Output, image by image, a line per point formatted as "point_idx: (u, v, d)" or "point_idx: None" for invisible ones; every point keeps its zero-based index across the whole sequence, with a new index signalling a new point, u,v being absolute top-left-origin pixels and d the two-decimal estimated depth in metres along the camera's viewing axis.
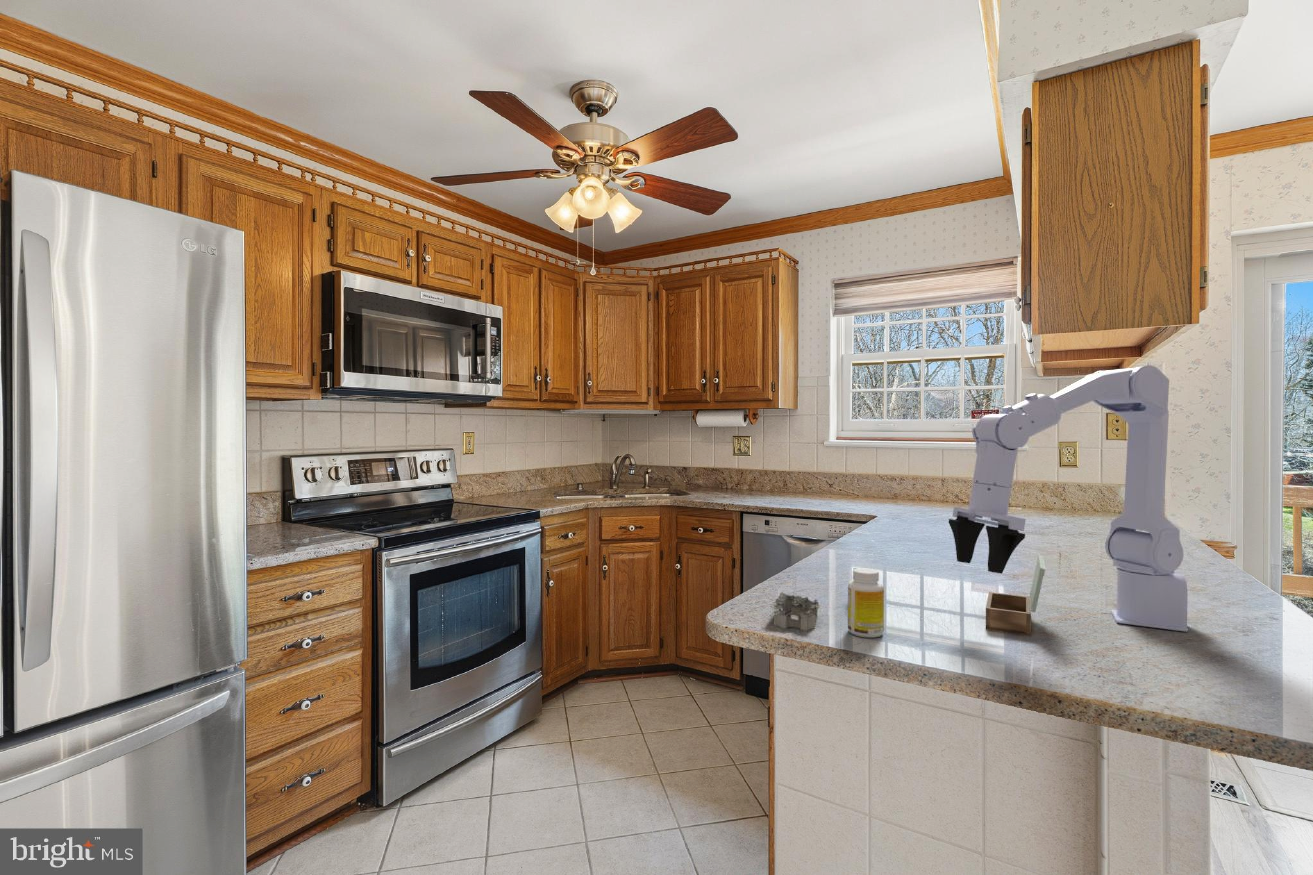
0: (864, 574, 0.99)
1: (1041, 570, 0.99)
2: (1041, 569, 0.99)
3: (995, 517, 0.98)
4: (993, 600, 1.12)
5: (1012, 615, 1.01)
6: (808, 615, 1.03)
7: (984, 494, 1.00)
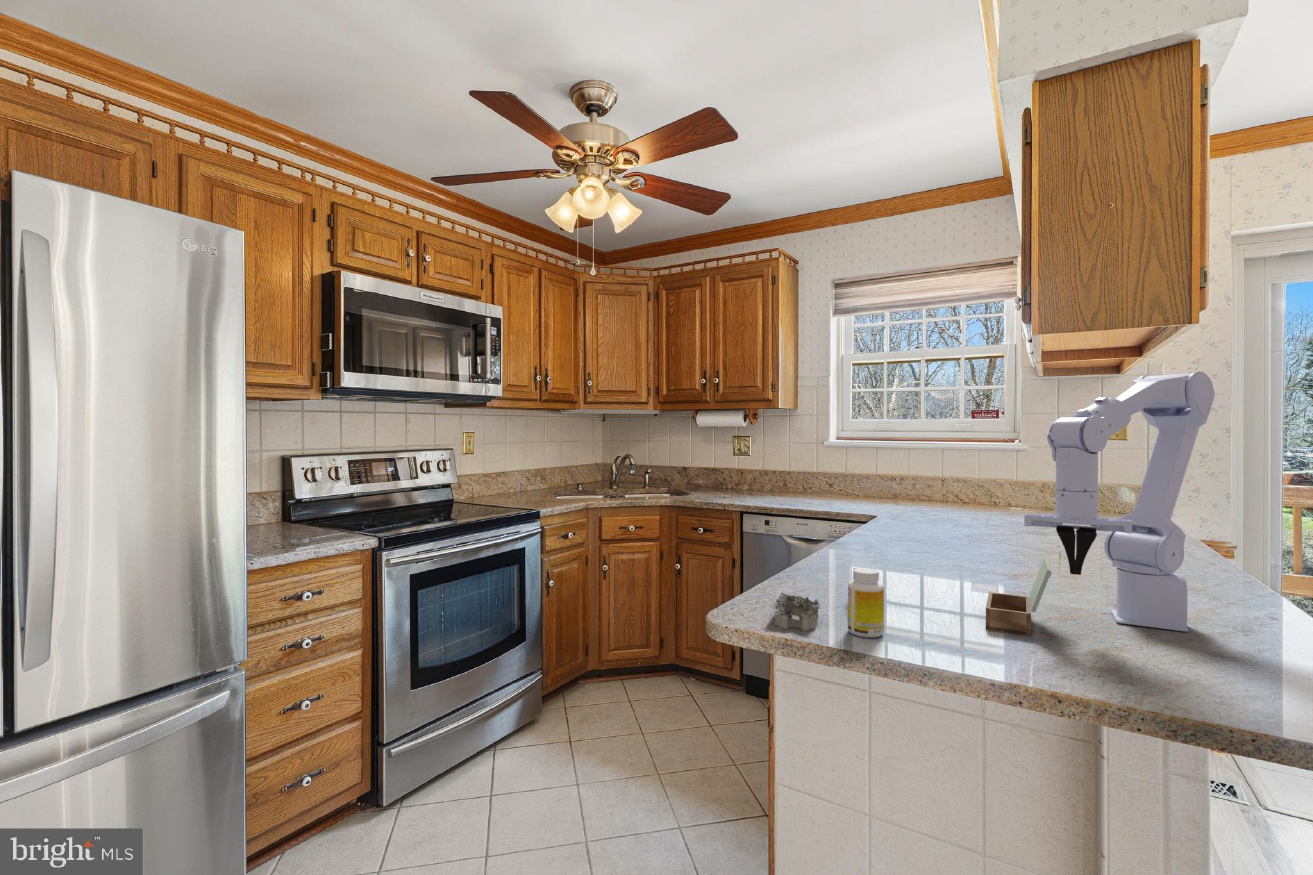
0: (864, 574, 0.99)
1: (1047, 572, 0.98)
2: (1048, 571, 0.98)
3: (1108, 524, 0.98)
4: (993, 600, 1.12)
5: (1012, 615, 1.01)
6: (809, 615, 1.03)
7: (1089, 502, 0.99)
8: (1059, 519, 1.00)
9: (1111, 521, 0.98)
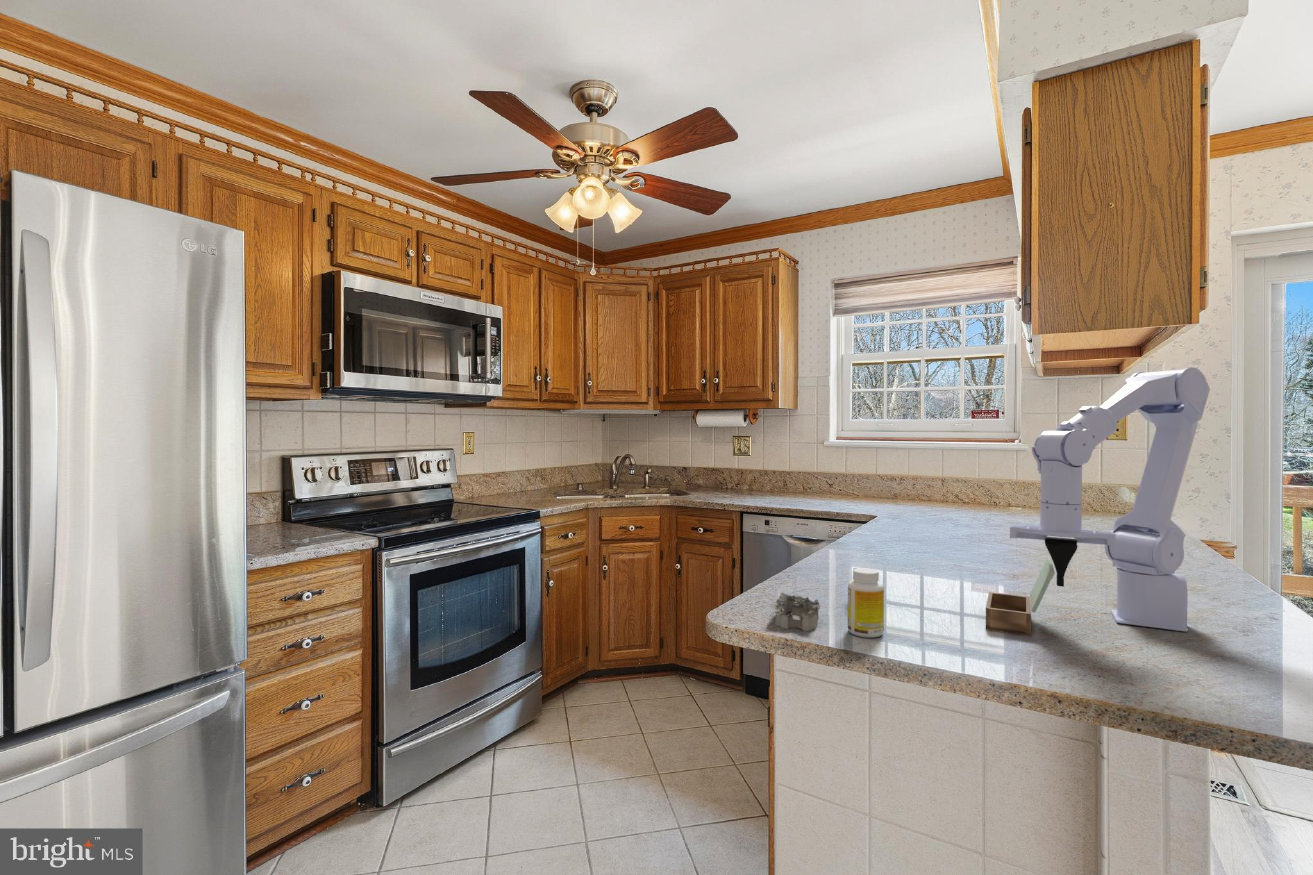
0: (864, 574, 0.99)
1: (1050, 573, 0.98)
2: (1050, 572, 0.98)
3: (1091, 536, 0.99)
4: (993, 600, 1.12)
5: (1012, 615, 1.01)
6: (810, 615, 1.03)
7: (1073, 515, 1.00)
8: (1044, 531, 1.02)
9: (1095, 534, 0.99)
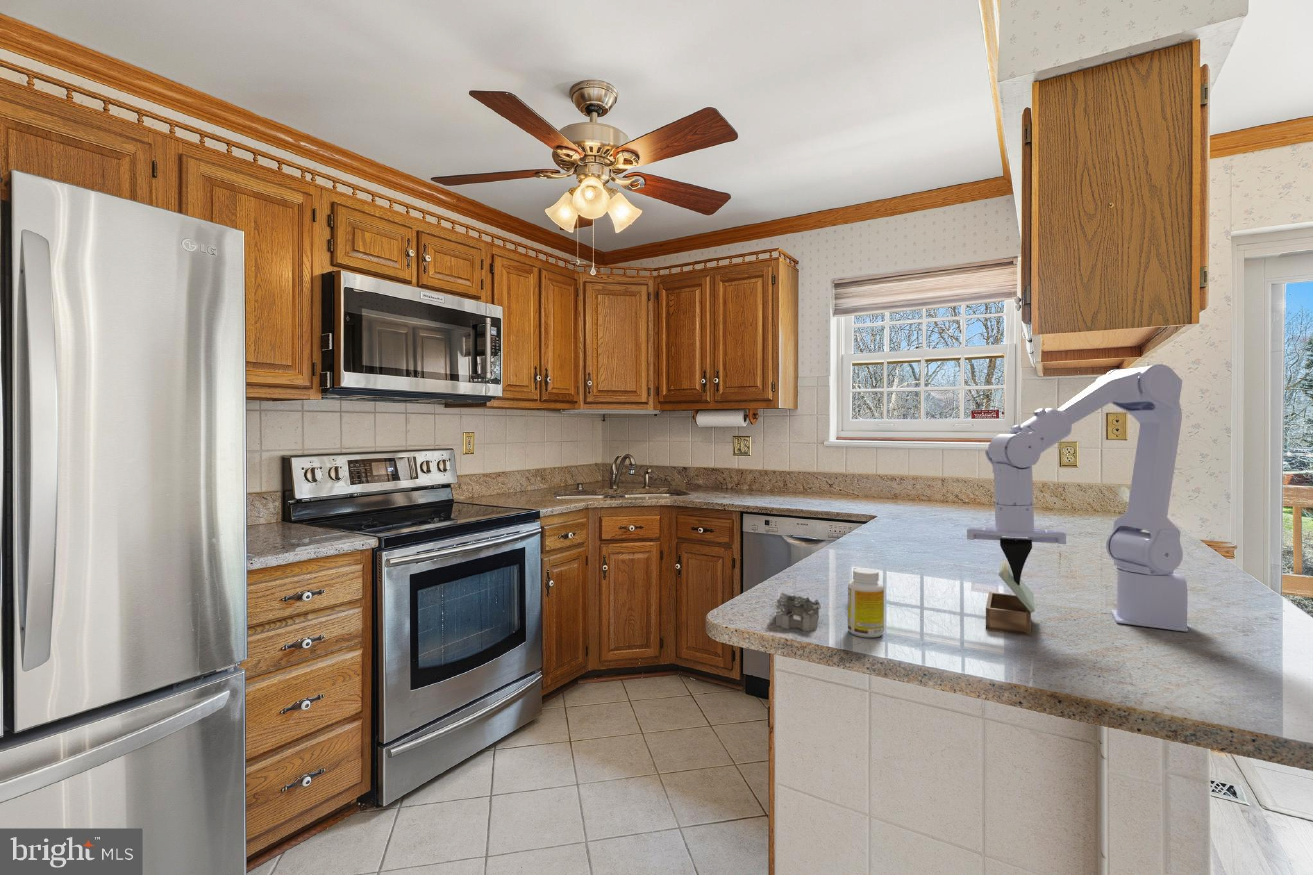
0: (864, 574, 0.99)
1: (1001, 576, 1.01)
2: (1000, 575, 1.02)
3: (1043, 536, 1.02)
4: (993, 600, 1.12)
5: (1012, 615, 1.01)
6: (810, 615, 1.03)
7: (1025, 516, 1.03)
8: (998, 532, 1.05)
9: (1046, 533, 1.02)
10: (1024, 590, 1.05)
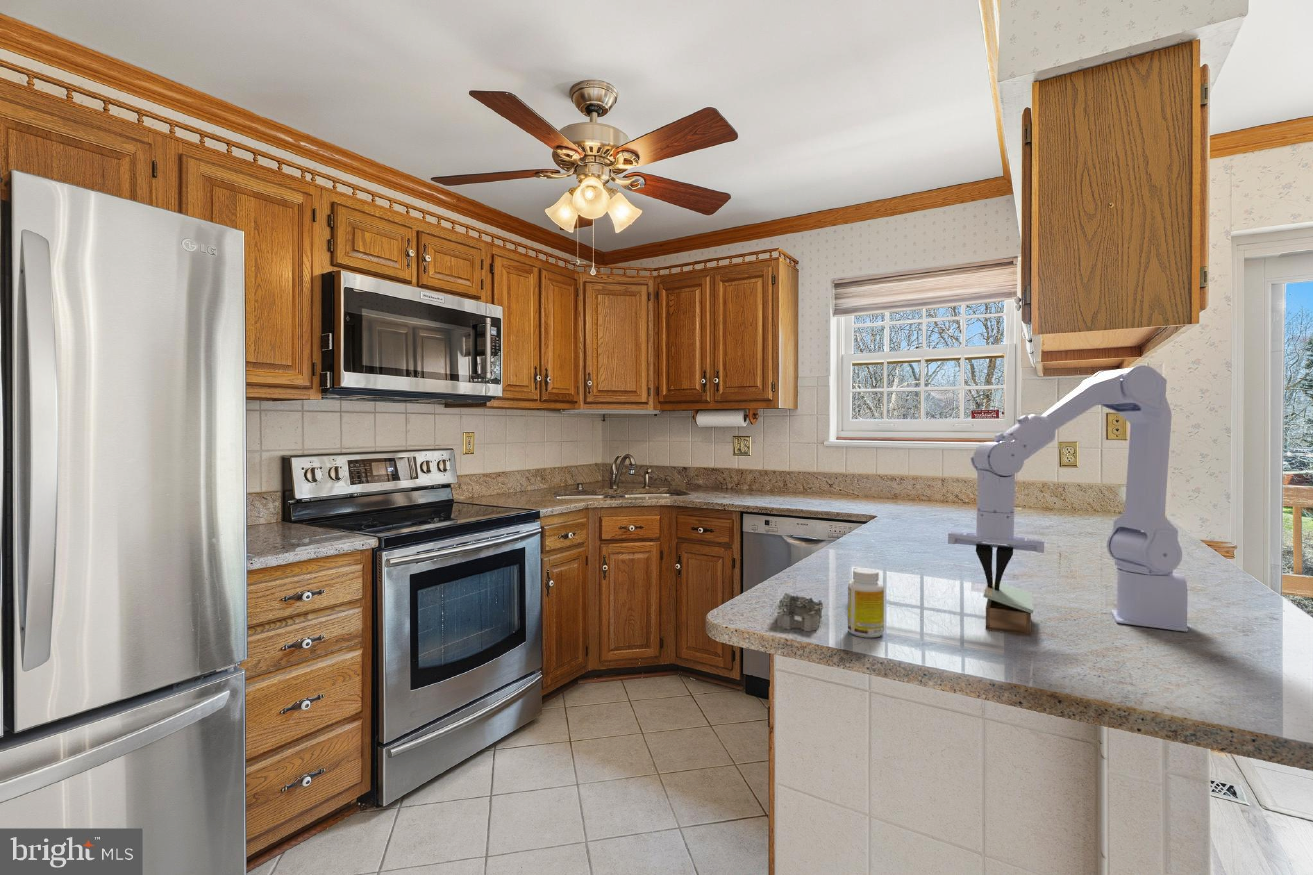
0: (864, 574, 0.99)
1: (985, 596, 1.03)
2: (984, 596, 1.03)
3: (1022, 543, 1.04)
4: (993, 600, 1.12)
5: (1012, 615, 1.01)
6: (812, 616, 1.03)
7: (1005, 523, 1.04)
8: (978, 538, 1.06)
9: (1025, 541, 1.04)
10: (1018, 595, 1.06)
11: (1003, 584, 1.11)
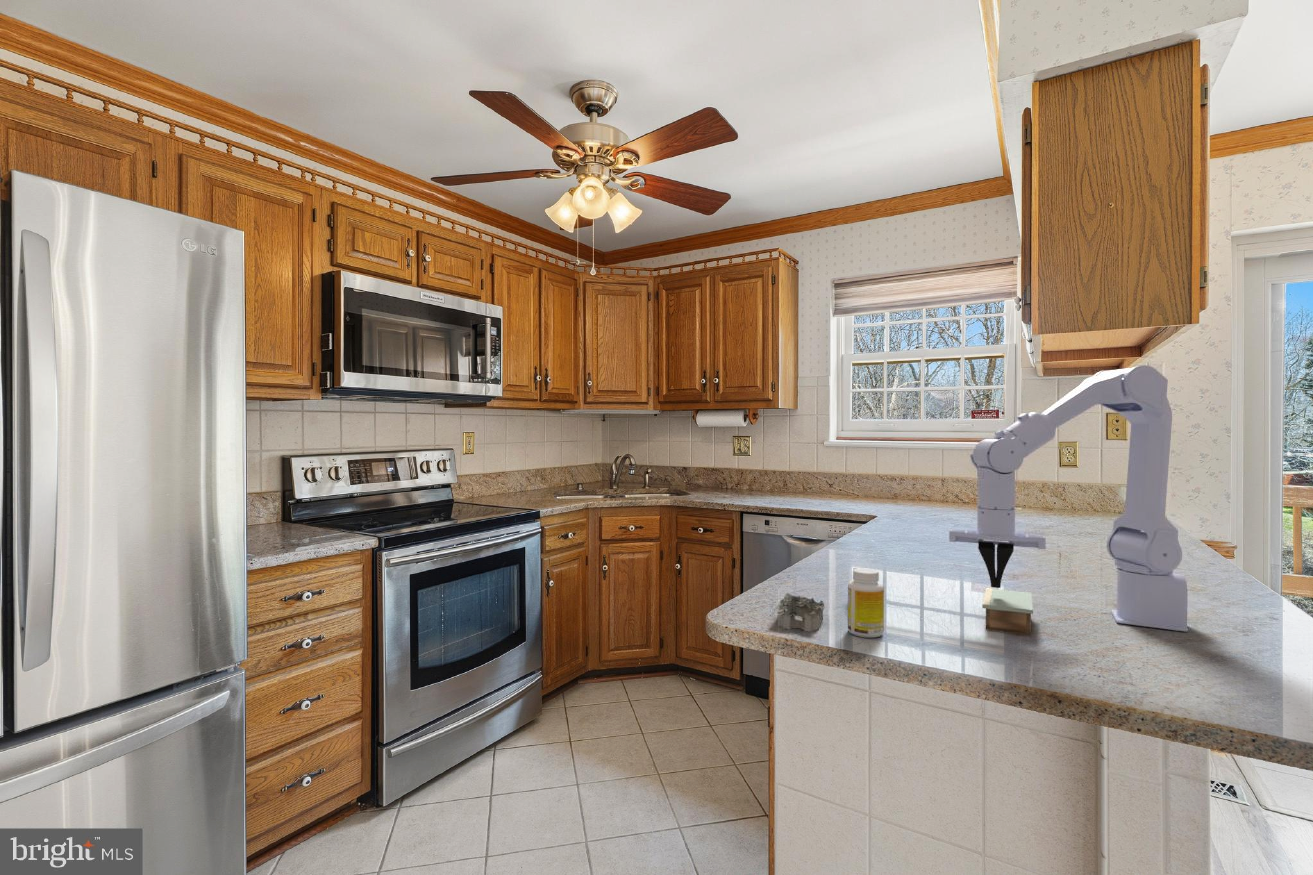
0: (864, 574, 0.99)
1: (984, 607, 1.03)
2: (983, 607, 1.03)
3: (1023, 540, 1.04)
4: None
5: (1012, 615, 1.01)
6: (812, 616, 1.02)
7: (1006, 520, 1.04)
8: (979, 535, 1.06)
9: (1026, 537, 1.04)
10: (1017, 599, 1.06)
11: (1002, 590, 1.12)
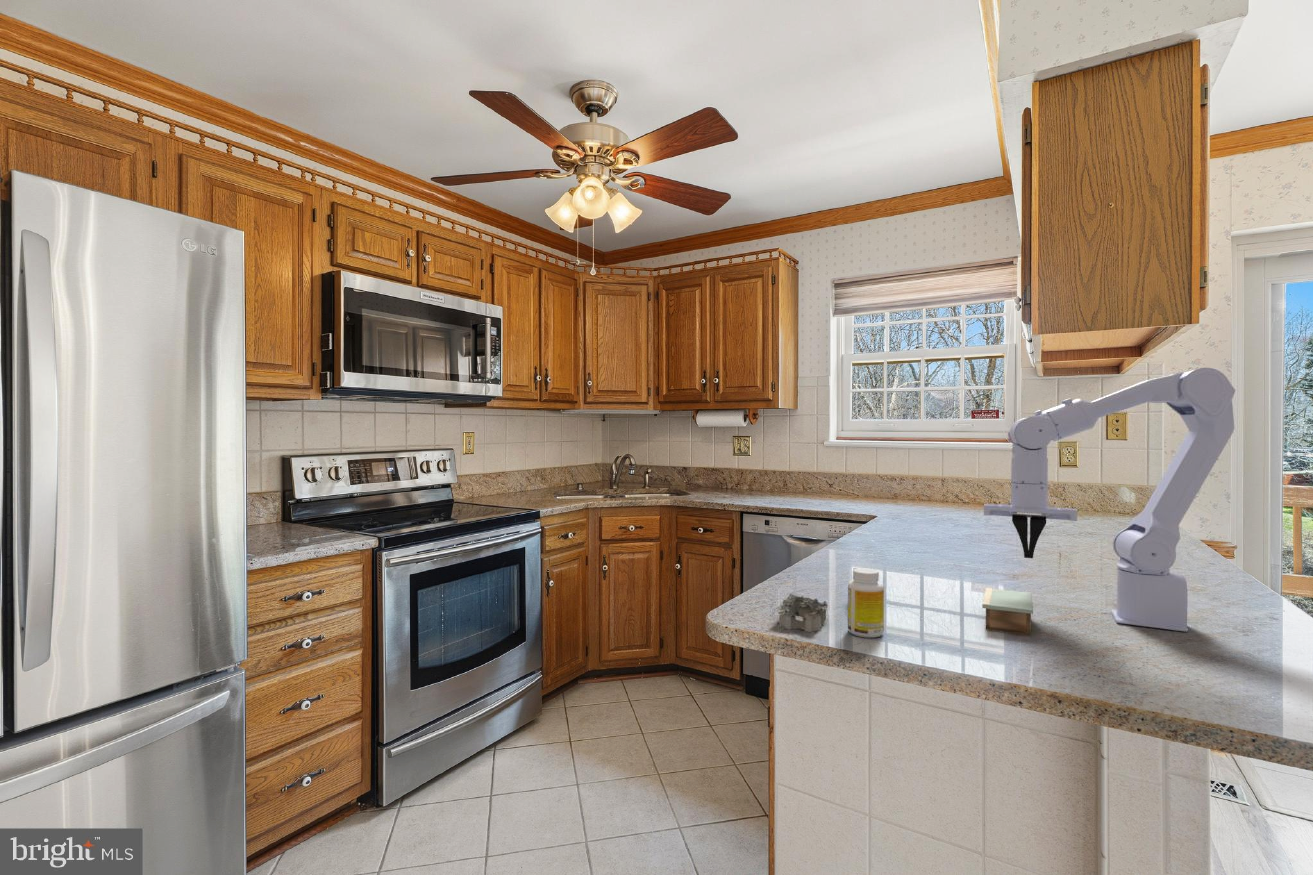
0: (864, 574, 0.99)
1: (984, 607, 1.03)
2: (983, 607, 1.03)
3: (1056, 512, 1.10)
4: None
5: (1012, 615, 1.01)
6: (813, 616, 1.02)
7: (1040, 493, 1.10)
8: (1013, 508, 1.12)
9: (1059, 510, 1.10)
10: (1017, 598, 1.06)
11: (1002, 590, 1.12)
